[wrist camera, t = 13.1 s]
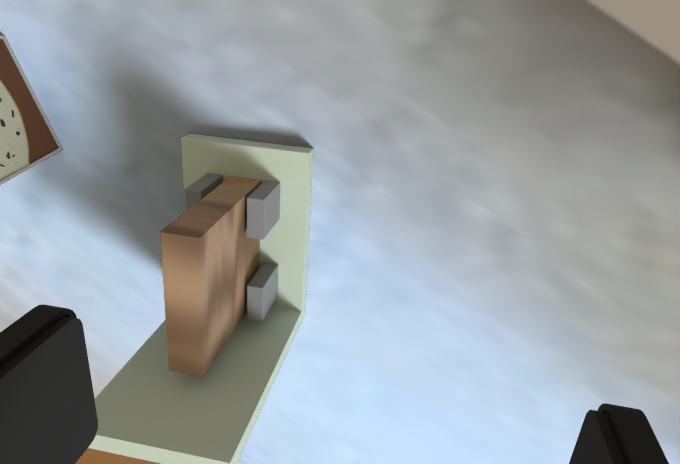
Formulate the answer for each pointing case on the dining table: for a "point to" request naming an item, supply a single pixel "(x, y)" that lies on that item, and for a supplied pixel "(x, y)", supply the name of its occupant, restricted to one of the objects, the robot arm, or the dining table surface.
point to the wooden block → (207, 275)
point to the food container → (21, 120)
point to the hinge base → (247, 339)
